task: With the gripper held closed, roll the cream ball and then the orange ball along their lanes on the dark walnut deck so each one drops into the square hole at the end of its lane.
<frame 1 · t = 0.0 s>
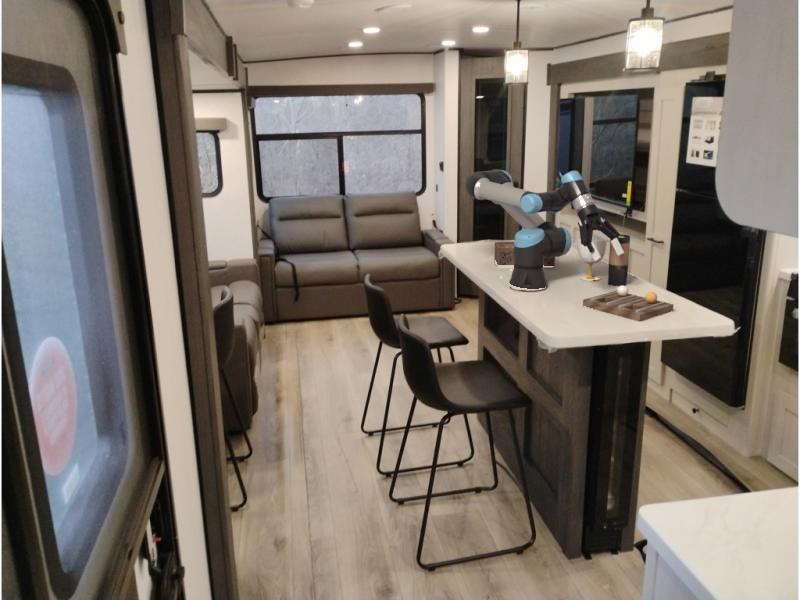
hand: (609, 257, 246), 15 cm above the worktop, tool tilted 35°, fingers open, 13 cm apart
cream ball: (622, 290, 239), point 4 cm above the worktop, touching hole deck
tissue box cover: (523, 265, 305), on the worktop
orange ball: (651, 297, 230), point 4 cm above the worktop, touching hole deck
hole deck: (627, 308, 233), on the worktop
travel mug: (617, 284, 266), on the worktop
cup: (590, 279, 276), on the worktop
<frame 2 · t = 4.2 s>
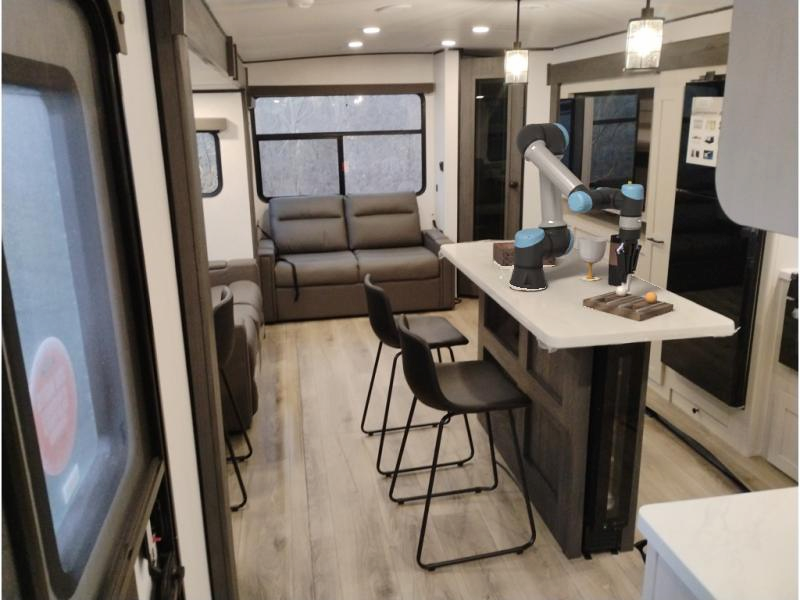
hand: (625, 290, 241), 4 cm above the worktop, tool pointing down, fingers closed
cream ball: (621, 291, 239), point 4 cm above the worktop, tilted 21°, touching gripper, hole deck
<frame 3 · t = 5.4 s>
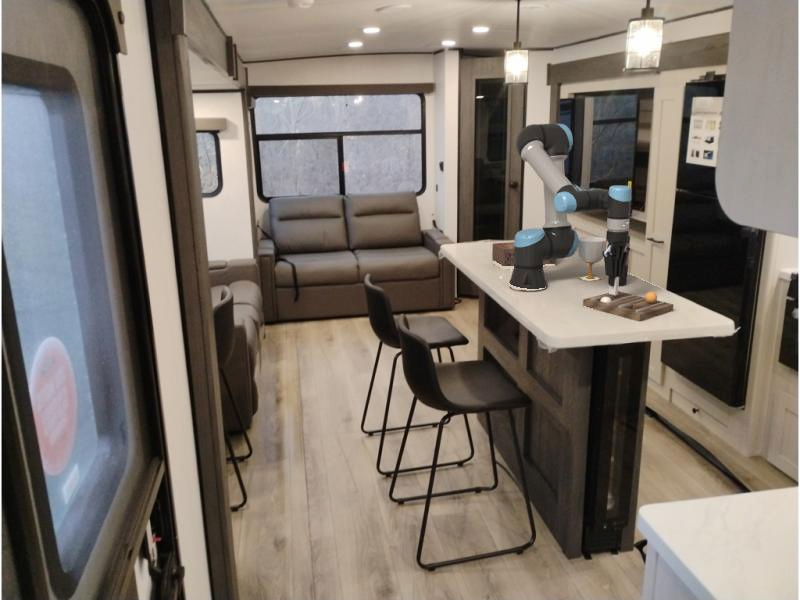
hand: (613, 294, 237), 4 cm above the worktop, tool pointing down, fingers closed
cream ball: (605, 302, 235), point 2 cm above the worktop, tilted 86°
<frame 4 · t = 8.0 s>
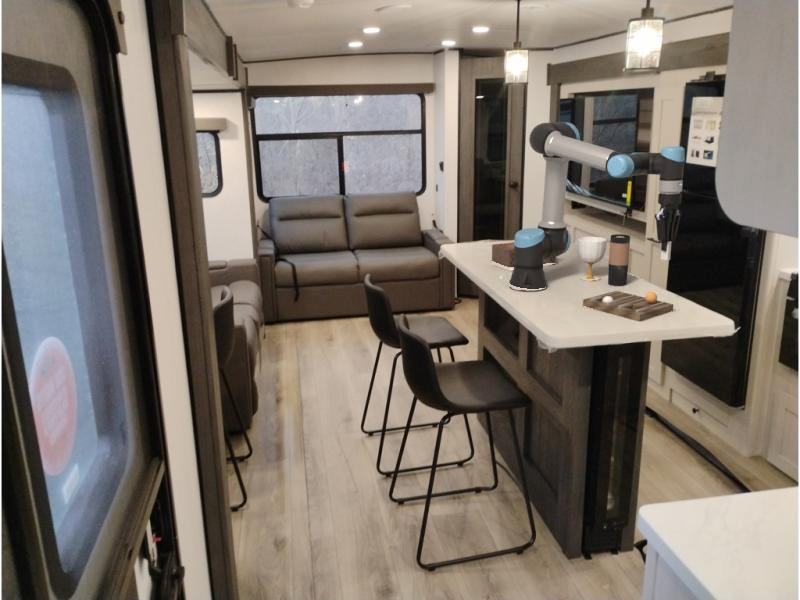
hand: (665, 259, 231), 17 cm above the worktop, tool pointing down, fingers closed
cream ball: (607, 301, 235), point 2 cm above the worktop, tilted 119°
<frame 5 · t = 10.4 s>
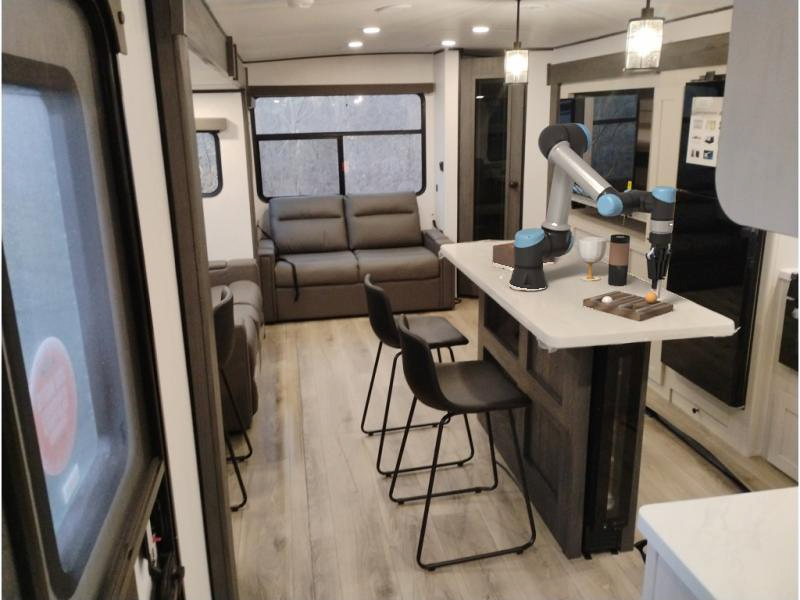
hand: (655, 297, 232), 4 cm above the worktop, tool pointing down, fingers closed
cream ball: (607, 301, 235), point 2 cm above the worktop, tilted 110°
orange ball: (651, 297, 230), point 4 cm above the worktop, touching gripper, hole deck
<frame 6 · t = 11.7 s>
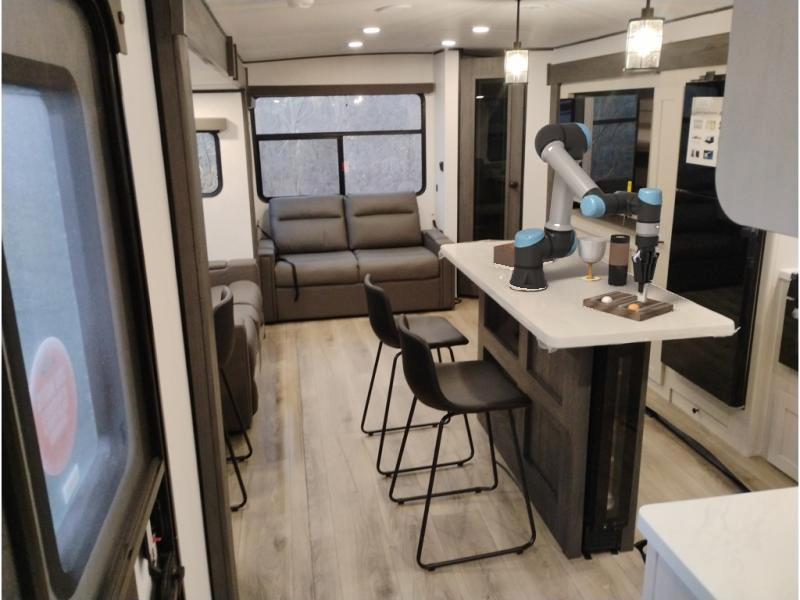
hand: (642, 301, 227), 4 cm above the worktop, tool pointing down, fingers closed
cream ball: (606, 301, 235), point 2 cm above the worktop, tilted 104°
orange ball: (633, 309, 225), point 2 cm above the worktop, tilted 90°
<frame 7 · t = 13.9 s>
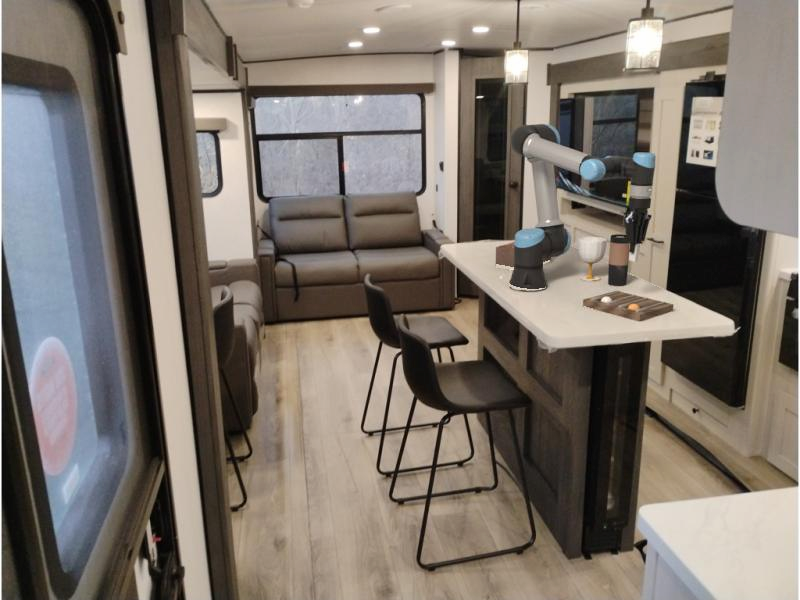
hand: (633, 260, 240), 15 cm above the worktop, tool pointing down, fingers closed
cream ball: (606, 301, 235), point 2 cm above the worktop, tilted 95°
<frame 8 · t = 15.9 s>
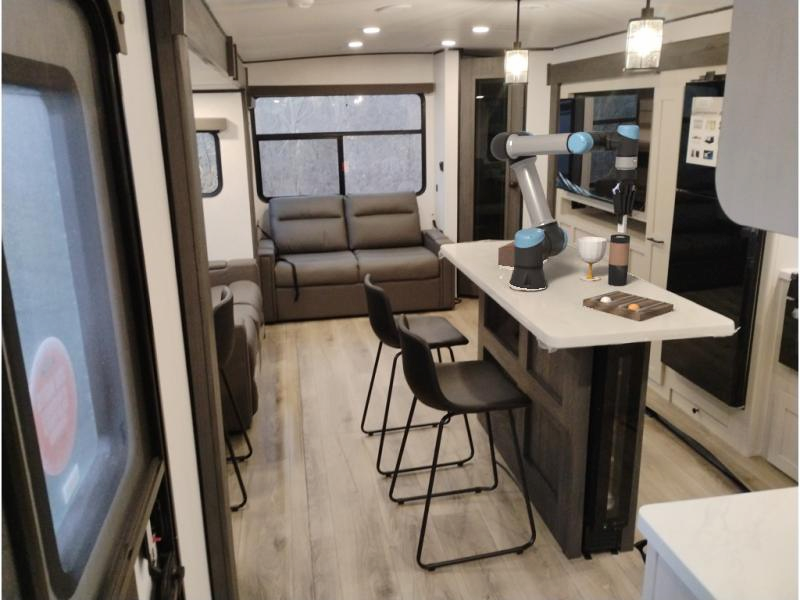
hand: (621, 232, 245), 24 cm above the worktop, tool pointing down, fingers closed
cream ball: (605, 302, 235), point 2 cm above the worktop, tilted 87°
at the end: cream ball 0.5 cm from the target spot on the hole deck, point 2.0 cm above the hole deck's base; orange ball 0.8 cm from the target spot on the hole deck, point 2.0 cm above the hole deck's base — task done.
